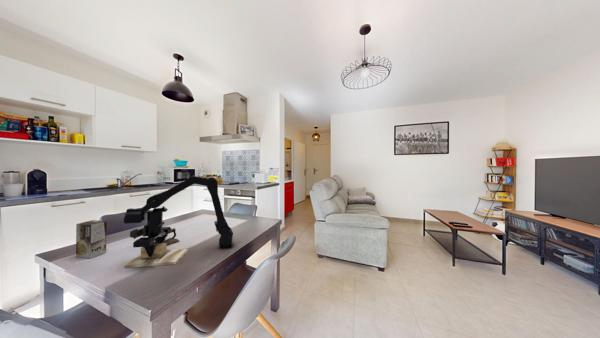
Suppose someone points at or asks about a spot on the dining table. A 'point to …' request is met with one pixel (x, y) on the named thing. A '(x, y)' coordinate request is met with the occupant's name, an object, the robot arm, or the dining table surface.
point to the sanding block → (157, 253)
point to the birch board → (158, 259)
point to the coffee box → (91, 238)
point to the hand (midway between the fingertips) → (153, 253)
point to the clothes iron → (171, 239)
